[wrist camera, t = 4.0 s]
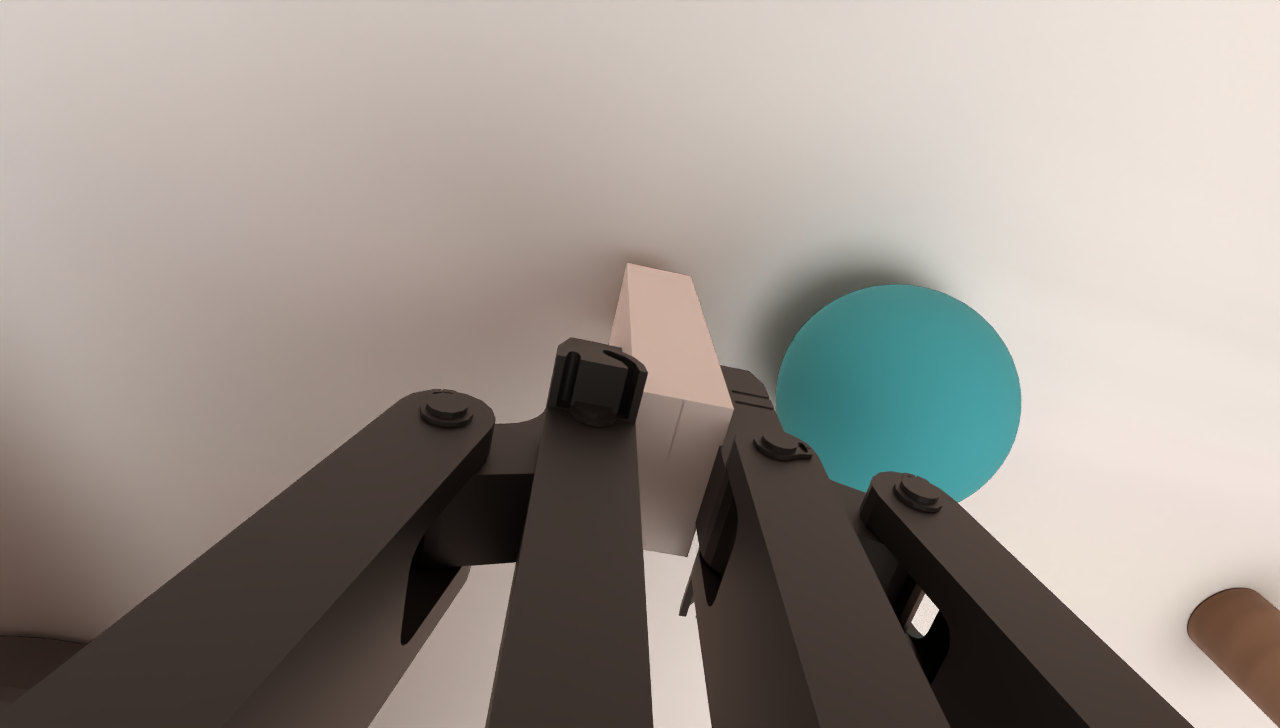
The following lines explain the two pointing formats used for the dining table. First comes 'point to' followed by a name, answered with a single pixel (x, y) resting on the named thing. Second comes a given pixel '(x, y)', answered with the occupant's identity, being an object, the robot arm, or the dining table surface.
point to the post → (1243, 643)
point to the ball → (901, 389)
